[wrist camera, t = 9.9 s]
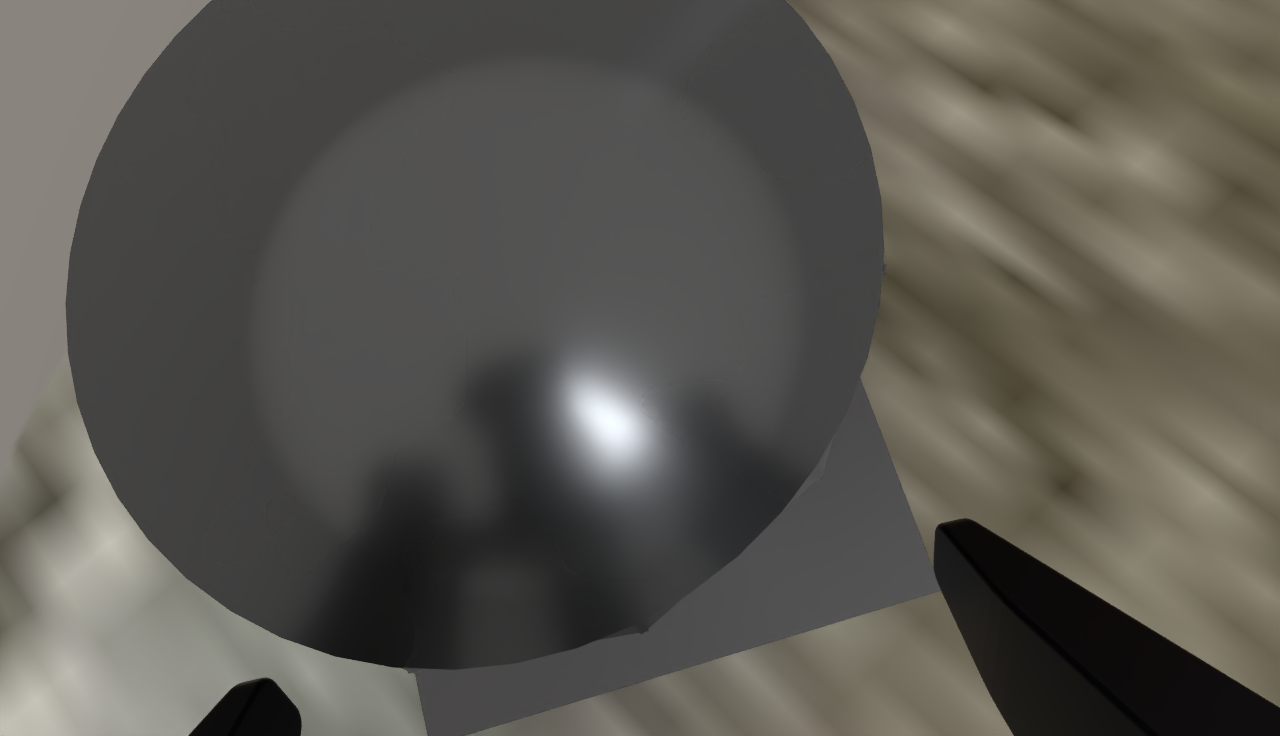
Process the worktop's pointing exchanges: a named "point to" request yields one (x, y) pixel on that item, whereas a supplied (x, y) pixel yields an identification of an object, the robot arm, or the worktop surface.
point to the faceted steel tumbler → (472, 310)
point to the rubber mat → (731, 594)
